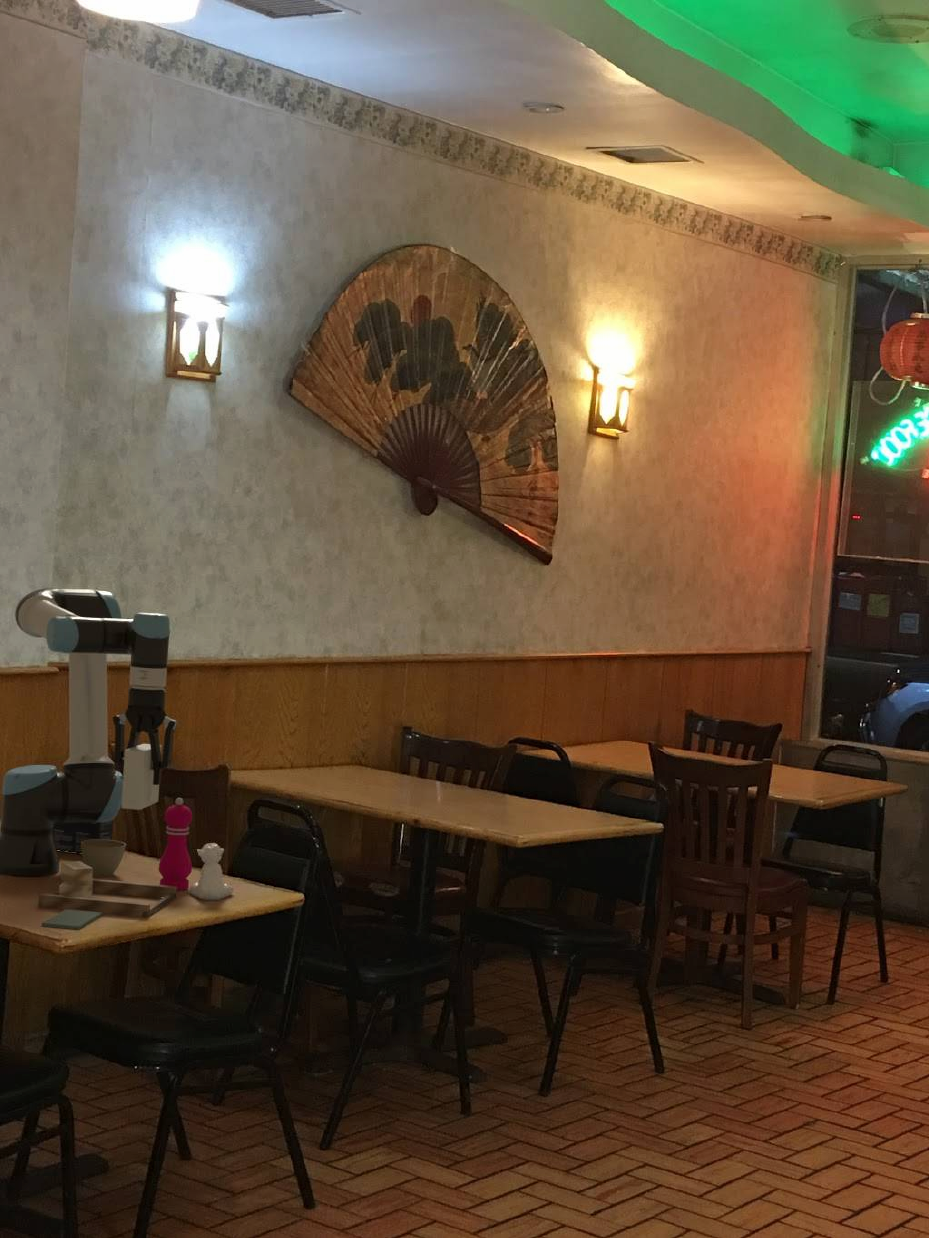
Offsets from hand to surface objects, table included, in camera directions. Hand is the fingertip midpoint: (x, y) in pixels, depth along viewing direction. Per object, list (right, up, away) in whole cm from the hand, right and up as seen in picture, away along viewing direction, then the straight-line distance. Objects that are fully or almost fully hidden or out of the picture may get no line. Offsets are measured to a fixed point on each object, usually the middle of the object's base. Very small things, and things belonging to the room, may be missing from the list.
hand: (140, 798), depth 345 cm
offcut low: (-14, -22, +2) cm, 26 cm away
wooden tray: (-7, -22, +1) cm, 23 cm away
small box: (-25, -19, +55) cm, 63 cm away
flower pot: (-15, -21, +29) cm, 39 cm away
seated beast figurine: (+13, -23, +13) cm, 29 cm away
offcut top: (-14, -18, +2) cm, 23 cm away
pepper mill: (+3, -22, +20) cm, 30 cm away
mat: (-10, -22, -17) cm, 30 cm away
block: (0, -1, 0) cm, 1 cm away
